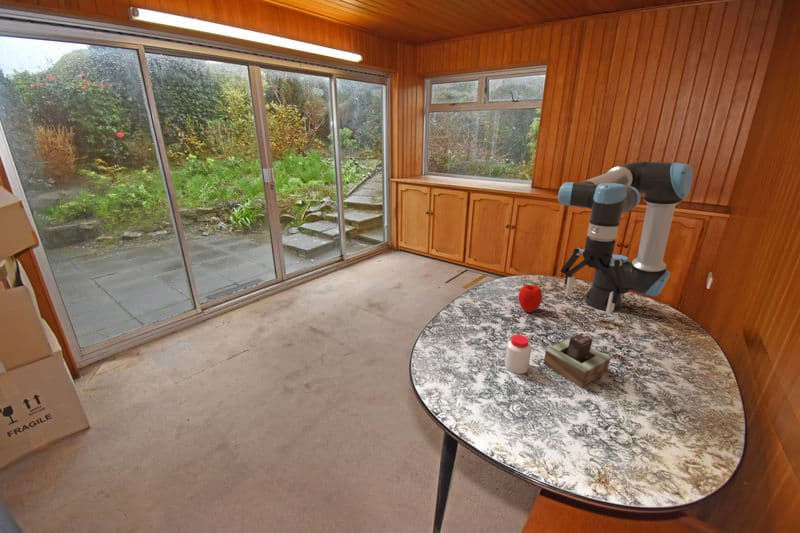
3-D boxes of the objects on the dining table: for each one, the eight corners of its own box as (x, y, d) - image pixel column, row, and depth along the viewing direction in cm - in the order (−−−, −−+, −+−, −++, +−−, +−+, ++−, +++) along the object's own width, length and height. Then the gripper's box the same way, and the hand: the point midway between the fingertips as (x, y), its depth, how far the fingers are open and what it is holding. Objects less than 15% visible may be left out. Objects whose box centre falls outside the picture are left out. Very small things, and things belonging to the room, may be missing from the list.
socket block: (568, 351, 127) (571, 337, 125) (606, 372, 116) (610, 357, 113) (543, 363, 120) (546, 349, 118) (581, 387, 109) (584, 371, 107)
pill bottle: (511, 356, 124) (515, 330, 120) (532, 366, 119) (536, 338, 115) (500, 366, 119) (503, 339, 115) (521, 377, 114) (525, 348, 110)
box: (574, 374, 115) (581, 343, 110) (563, 367, 118) (569, 337, 114) (586, 369, 117) (593, 338, 113) (574, 362, 121) (581, 332, 117)
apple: (530, 303, 162) (534, 279, 158) (545, 313, 153) (549, 288, 149) (512, 307, 159) (515, 282, 155) (526, 317, 150) (529, 291, 146)
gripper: (555, 230, 110) (546, 291, 117) (640, 251, 90) (622, 323, 97) (570, 227, 113) (560, 286, 121) (654, 246, 93) (636, 316, 101)
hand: (587, 302), depth 109 cm, fingers open, 13 cm apart
